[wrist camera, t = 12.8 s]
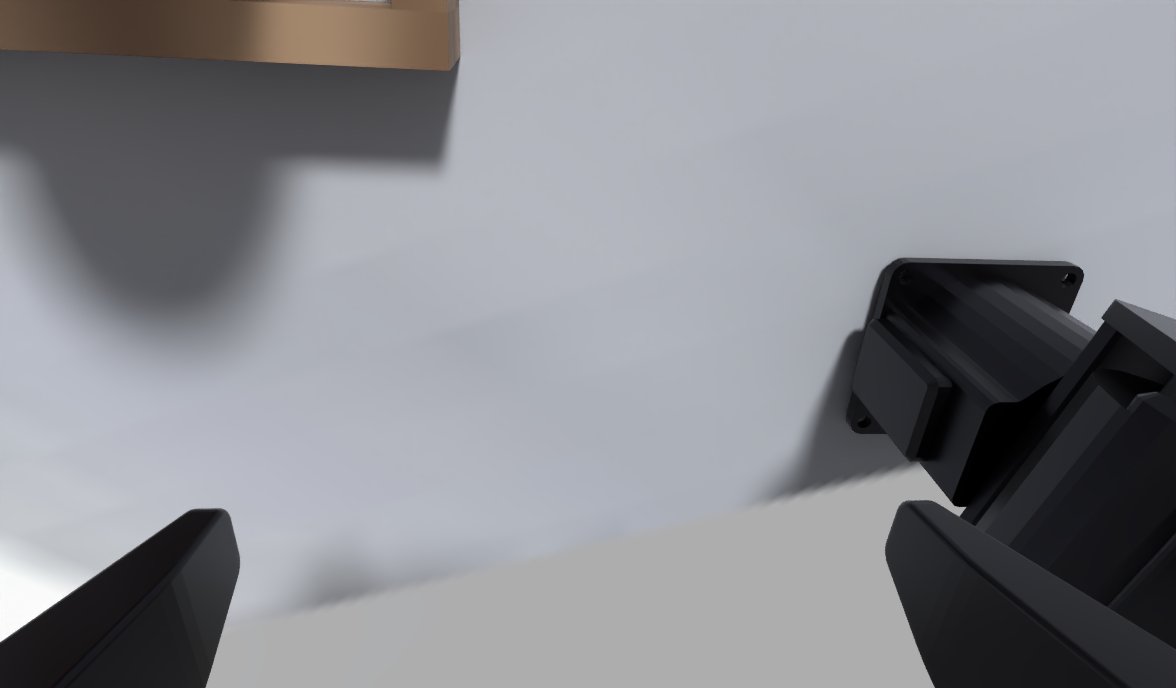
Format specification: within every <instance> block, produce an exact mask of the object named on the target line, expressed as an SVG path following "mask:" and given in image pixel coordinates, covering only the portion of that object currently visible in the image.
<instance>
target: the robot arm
mask: <svg viewBox="0 0 1176 688" xmlns="http://www.w3.org/2000/svg"><path fill="white" fill-rule="evenodd" d="M904 270H908V273H907V275H906V277H904V278H903V279H900V280H898V278H899V275H900V273H902V272H903V271H904ZM1067 274H1068V276H1067V277H1066V279H1065V280H1064V281H1062V282H1061V280H1062V278H1063V277H1064V276H1065V275H1067ZM1083 278H1084V273H1083V270H1082V269H1081V268H1080V267H1078V266H1076V265H1074V264H1072V263H1070V262H1066V261H1024V260H983V259H941V258H899V259H897V260H895V261H893V262H892V263H891V264H890V265H889V266H888V268H887V270H886V272H885V275H884V279H883V283H882V286H881V290H880V294H879V297H878V301H877V305H876V308H875V312H874V316H873V319H872V321H871V322H870V323H869V324H868V325H867V328H866V332H865V336H864V339H863V343H862V347H861V350H860V354H859V358H858V361H857V365H856V369H855V373H854V376H853V380H852V384H851V388H852V390H853V393H852V397H851V400H850V404H849V408H848V411H847V415H846V421H847V423H848V425H849V426H850V428H851V429H852V430H853V431H854V432H856V433H859V434H888V436H889V437H890V438H891V440H892V441H893V442H894V443H895V445H896V446H897V447H898V448H899V450H900V451H901V452H902V454H903V455H904V456H905V457H906V458H907V459H908V460H909V461H910V462H920V464H921V465H922V466H923V467H924V469H925V470H926V471H927V472H928V474H929V475H930V476H931V477H932V479H933V480H934V481H935V482H936V484H938V486H939V487H940V488H941V490H942V491H943V492H944V493H945V495H946V496H947V497H948V498H949V500H950V501H951V502H952V503H953V505H954V506H957V507H966V509H965V510H964V511H963V513H962V514H961V515H960V517H959V516H957V515H955V514H953V513H952V512H950V511H949V510H947V509H946V508H944V507H942V506H941V505H939V504H937V503H935V502H933V501H927V500H924V501H905V502H903V503H902V504H901V505H900V506H899V508H898V510H897V512H896V516H895V518H894V521H893V524H892V527H891V530H890V533H889V536H888V539H887V542H886V547H885V555H886V561H887V564H888V567H889V570H890V572H891V575H892V578H893V581H894V584H895V586H896V589H897V592H898V595H899V597H900V600H901V603H902V606H903V608H904V611H905V614H906V617H907V620H908V622H909V625H910V628H911V631H912V633H913V636H914V639H915V642H916V644H917V647H918V650H919V652H920V655H921V657H922V660H923V662H924V665H925V667H926V669H927V672H928V674H929V676H930V678H931V680H932V683H933V685H934V687H935V688H1176V320H1175V319H1172V318H1169V317H1166V316H1164V315H1161V314H1158V313H1155V312H1152V311H1149V310H1146V309H1143V308H1140V307H1137V306H1135V305H1132V304H1129V303H1126V302H1123V301H1120V300H1117V299H1115V300H1114V301H1113V303H1112V304H1111V305H1110V307H1109V308H1108V310H1107V311H1106V312H1105V314H1104V315H1103V316H1102V319H1103V320H1104V323H1103V324H1102V325H1101V327H1100V328H1099V329H1098V331H1097V332H1096V331H1095V330H1093V329H1092V328H1090V327H1089V326H1087V325H1085V324H1084V323H1082V322H1081V321H1079V320H1077V319H1076V318H1074V317H1073V316H1071V315H1069V313H1070V310H1071V308H1072V306H1073V303H1074V301H1075V298H1076V296H1077V294H1078V291H1079V289H1080V286H1081V284H1082V282H1083ZM864 416H866V418H865V419H864V420H862V421H859V422H858V420H859V419H860V418H861V417H864ZM239 569H240V556H239V551H238V547H237V542H236V538H235V534H234V530H233V526H232V522H231V518H230V515H229V513H228V512H227V511H226V510H224V509H221V508H211V509H192V510H190V511H188V512H186V513H185V514H183V515H182V516H180V517H179V518H177V519H176V520H175V521H173V522H172V523H170V524H169V525H167V526H166V527H165V528H163V529H162V530H160V531H159V532H157V533H156V534H155V535H153V536H152V537H150V538H149V539H147V540H146V541H144V542H143V543H142V544H140V545H139V546H137V547H136V548H134V549H133V550H132V551H130V552H129V553H127V554H126V555H124V556H123V557H122V558H120V559H119V560H117V561H116V562H114V563H113V564H112V565H110V566H109V567H107V568H106V569H104V570H103V571H102V572H100V573H99V574H97V575H96V576H94V577H93V578H92V579H90V580H89V581H87V582H86V583H84V584H83V585H82V586H80V587H79V588H77V589H76V590H74V591H73V592H71V593H70V594H69V595H67V596H66V597H64V598H63V599H61V600H60V601H59V602H57V603H56V604H54V605H53V606H51V607H50V608H49V609H47V610H46V611H44V612H43V613H41V614H40V615H39V616H37V617H36V618H34V619H33V620H31V621H30V622H29V623H27V624H26V625H24V626H23V627H21V628H20V629H19V630H17V631H16V632H14V633H13V634H11V635H10V636H9V637H7V638H6V639H4V640H3V641H1V642H0V688H205V687H206V684H207V681H208V678H209V675H210V672H211V668H212V665H213V661H214V658H215V654H216V651H217V647H218V644H219V641H220V637H221V634H222V630H223V627H224V623H225V620H226V616H227V613H228V610H229V606H230V603H231V599H232V596H233V592H234V589H235V585H236V582H237V578H238V575H239Z"/></svg>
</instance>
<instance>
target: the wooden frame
mask: <svg viewBox="0 0 1176 688" xmlns="http://www.w3.org/2000/svg"><path fill="white" fill-rule="evenodd" d="M0 49H3V50H24V51H44V52H65V53H86V54H107V55H128V56H149V57H170V58H190V59H211V60H232V61H253V62H274V63H295V64H316V65H337V66H357V67H378V68H399V69H420V70H441V71H450V70H451V68H452V67H453V66H454V64H455V63H456V62H457V60H458V59H459V58H460V30H459V0H391V3H386V2H368V1H351V0H0Z"/></svg>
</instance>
